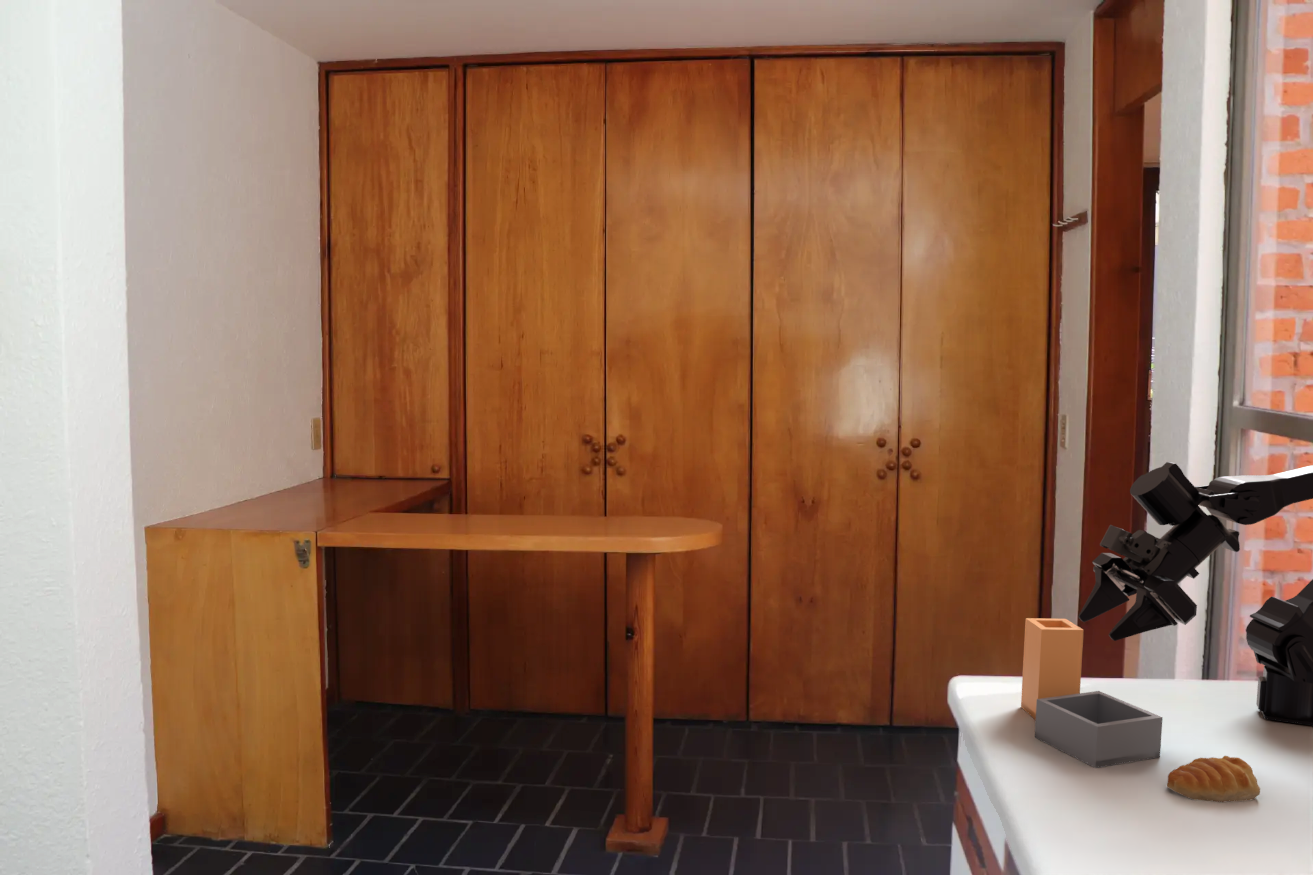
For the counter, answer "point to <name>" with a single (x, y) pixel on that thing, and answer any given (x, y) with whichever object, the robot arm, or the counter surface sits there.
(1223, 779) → the pastry
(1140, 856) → the counter surface
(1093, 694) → the grey crate
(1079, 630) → the orange hollow square block
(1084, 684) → the counter surface
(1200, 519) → the robot arm
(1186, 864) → the counter surface
